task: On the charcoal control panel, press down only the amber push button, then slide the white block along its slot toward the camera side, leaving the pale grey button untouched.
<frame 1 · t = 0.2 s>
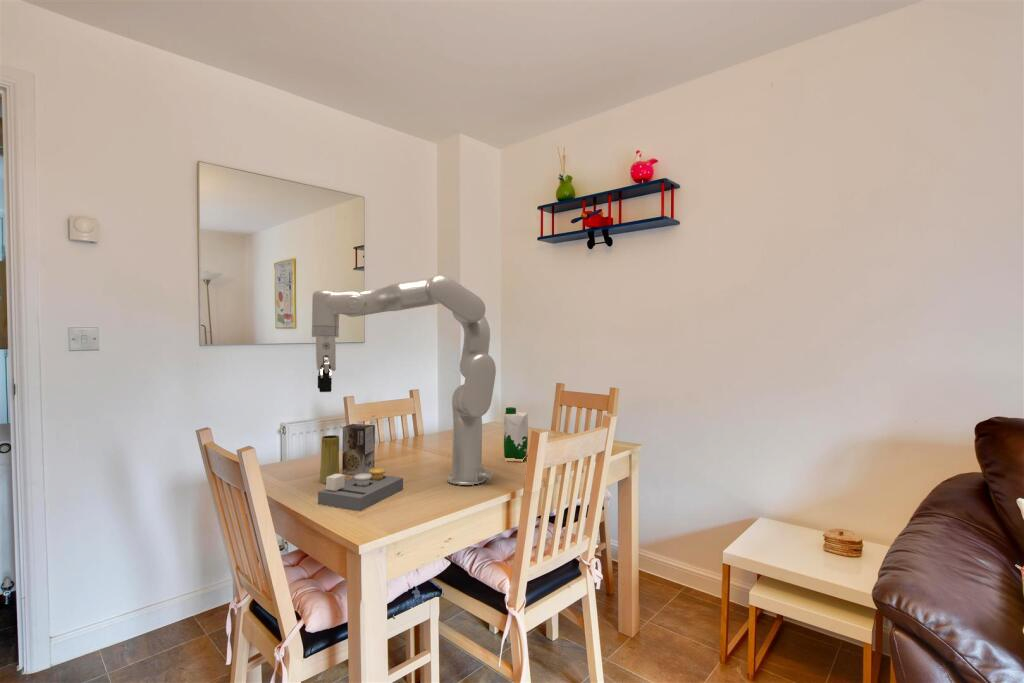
hand: (324, 390, 147), 31 cm above the table, tool pointing down, fingers open, 9 cm apart
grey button: (362, 480, 145), point 5 cm above the table, slide at 0.0 cm
panel: (362, 496, 145), on the table
white block: (335, 486, 140), point 4 cm above the table, slide at 0.0 cm
amber button: (377, 474, 151), point 5 cm above the table, slide at 0.0 cm
milk carton: (515, 460, 192), on the table
coffee box: (358, 473, 170), on the table
vase: (329, 481, 159), on the table
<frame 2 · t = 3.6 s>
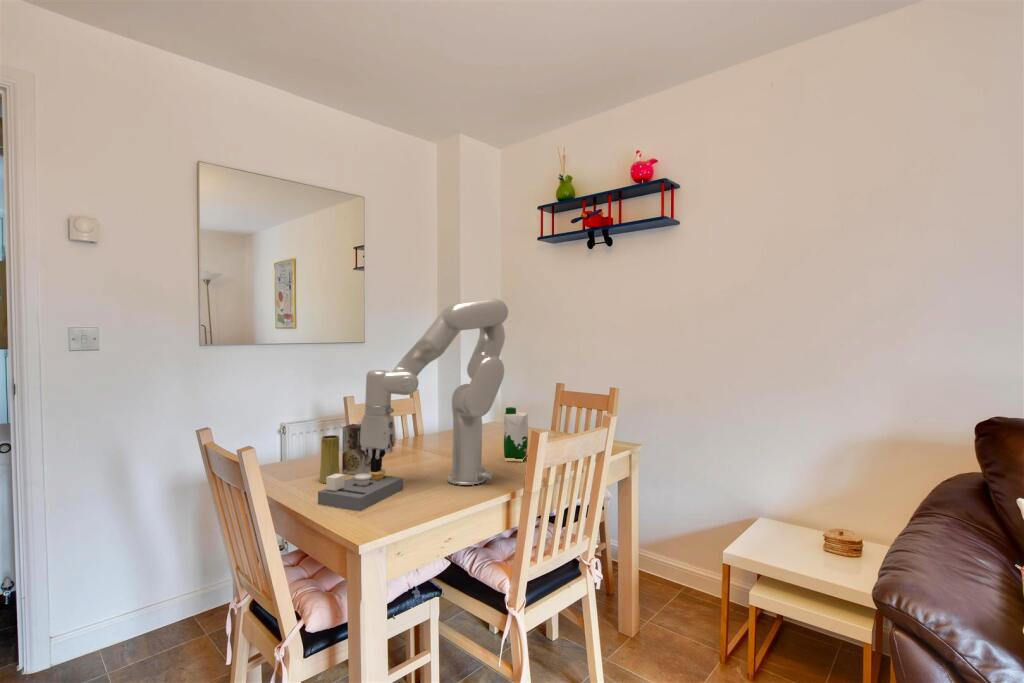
hand: (375, 470, 151), 6 cm above the table, tool pointing down, fingers closed
amber button: (377, 476, 151), point 4 cm above the table, slide at 0.4 cm, touching gripper
everything else where it was.
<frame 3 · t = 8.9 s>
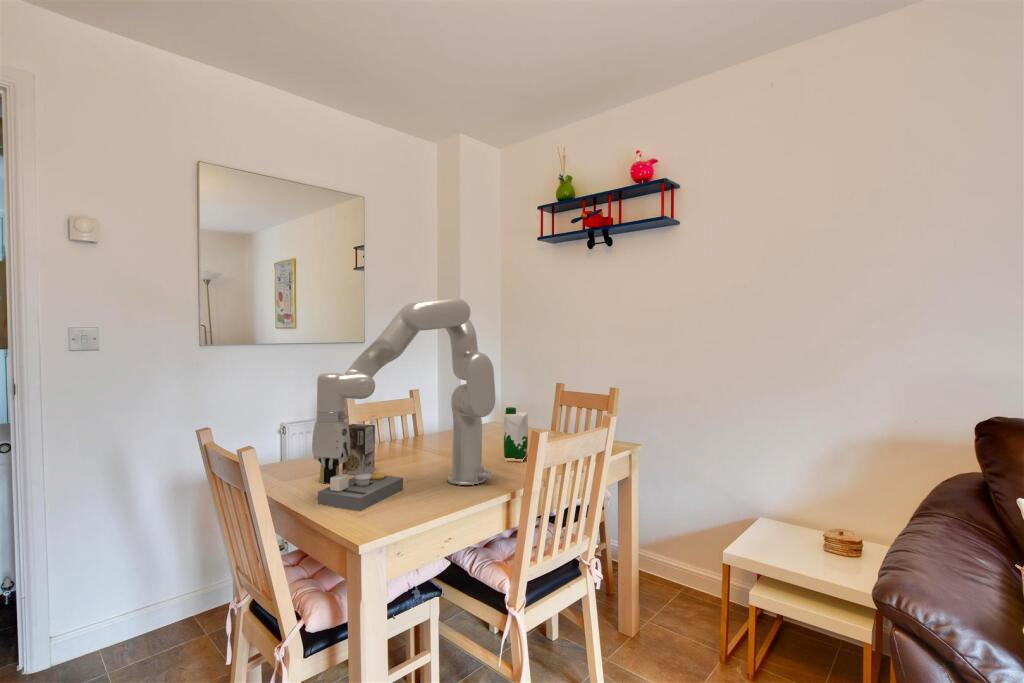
hand: (329, 481, 140), 5 cm above the table, tool pointing down, fingers closed
white block: (339, 487, 139), point 4 cm above the table, slide at 1.4 cm, touching gripper
amber button: (377, 479, 151), point 3 cm above the table, slide at 1.6 cm
everything else where it was.
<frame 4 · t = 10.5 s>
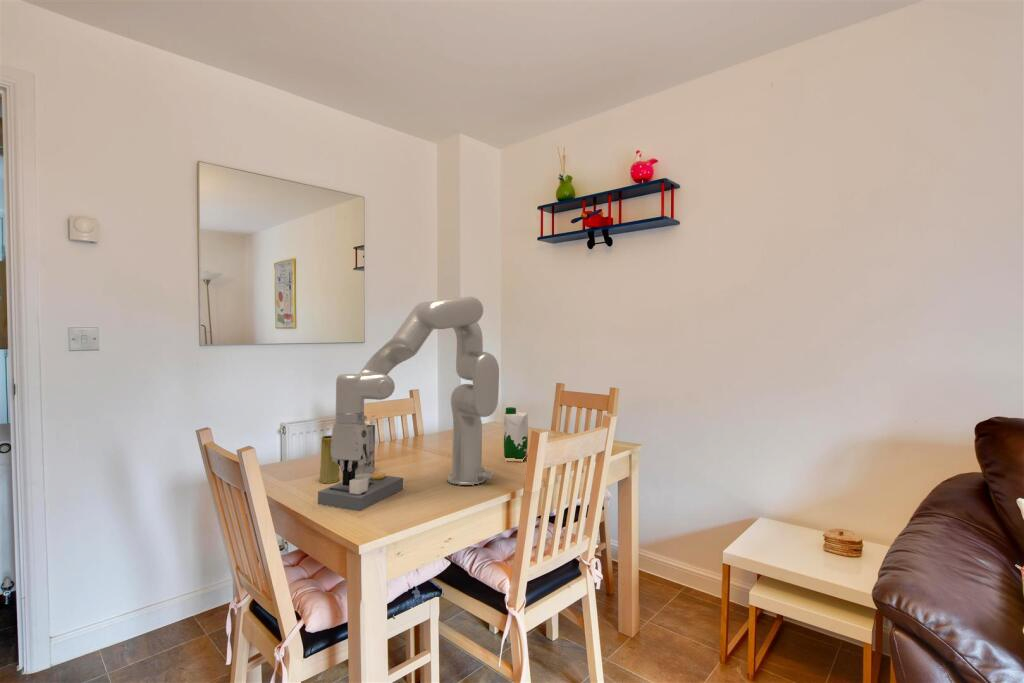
hand: (348, 484, 138), 5 cm above the table, tool pointing down, fingers closed
white block: (358, 489, 137), point 4 cm above the table, slide at 7.8 cm, touching gripper
everything else where it was.
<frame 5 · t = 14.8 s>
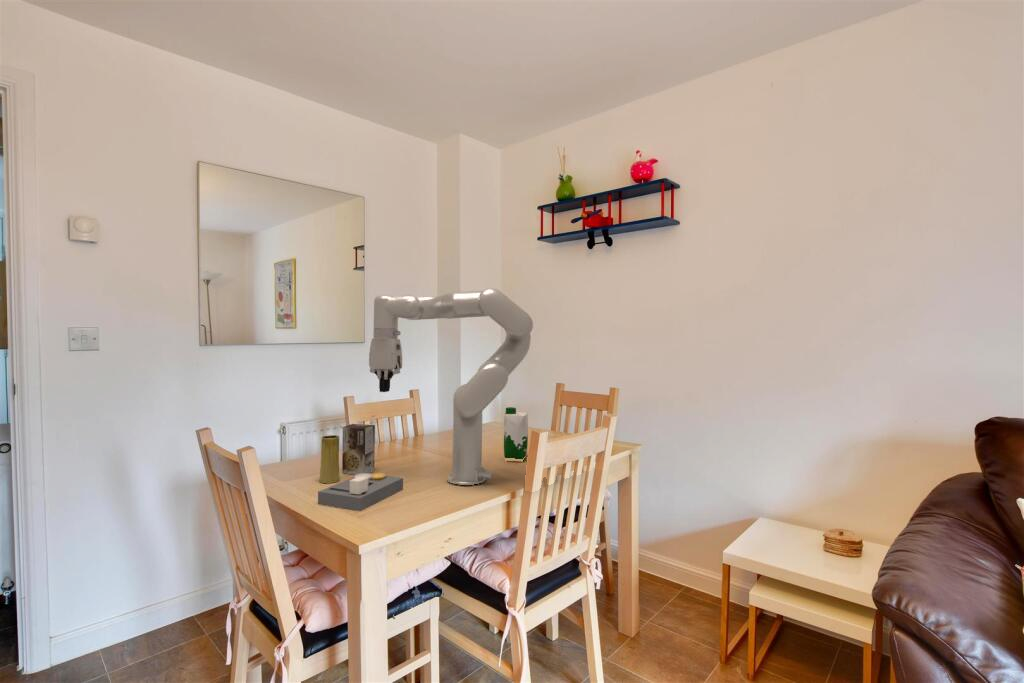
hand: (384, 391, 159), 29 cm above the table, tool pointing down, fingers closed
white block: (358, 489, 137), point 4 cm above the table, slide at 7.9 cm
everything else where it was.
at the end: amber button slide at 1.6 cm; white block slide at 7.9 cm; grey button slide at 0.0 cm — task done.
